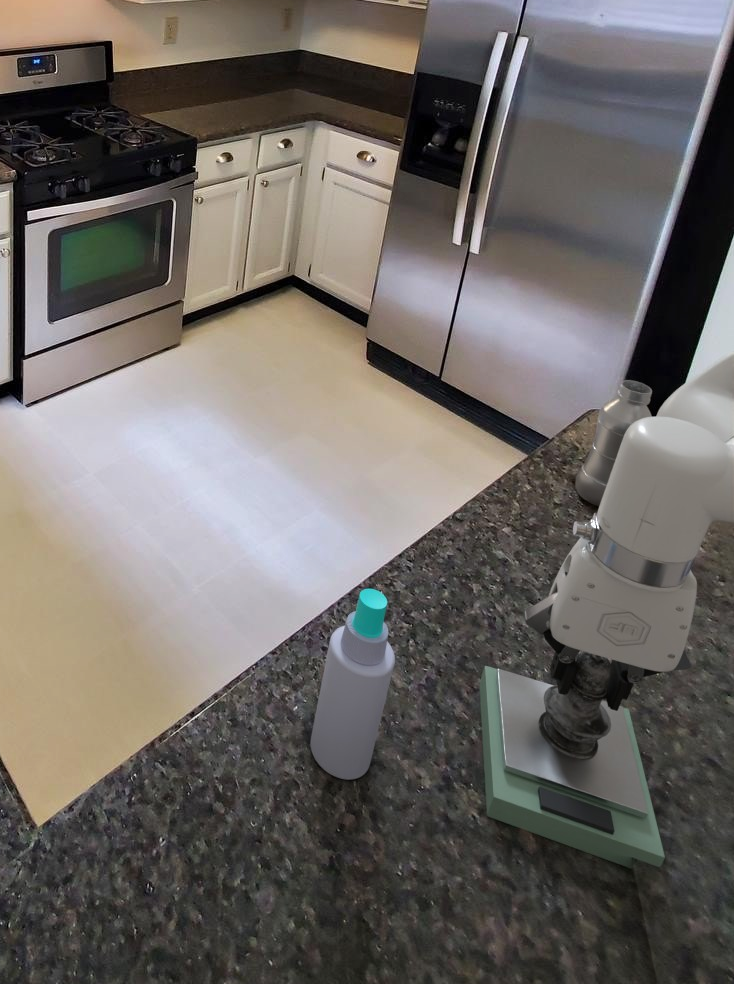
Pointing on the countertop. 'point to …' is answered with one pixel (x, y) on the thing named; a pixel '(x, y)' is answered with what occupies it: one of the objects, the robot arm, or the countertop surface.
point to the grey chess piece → (579, 709)
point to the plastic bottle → (611, 438)
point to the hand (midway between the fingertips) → (585, 689)
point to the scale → (563, 800)
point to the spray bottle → (353, 690)
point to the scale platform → (536, 759)
